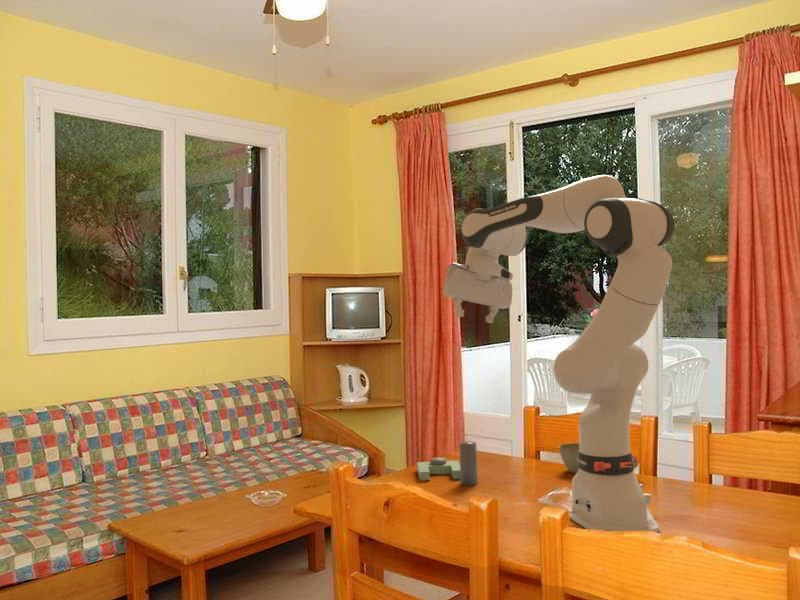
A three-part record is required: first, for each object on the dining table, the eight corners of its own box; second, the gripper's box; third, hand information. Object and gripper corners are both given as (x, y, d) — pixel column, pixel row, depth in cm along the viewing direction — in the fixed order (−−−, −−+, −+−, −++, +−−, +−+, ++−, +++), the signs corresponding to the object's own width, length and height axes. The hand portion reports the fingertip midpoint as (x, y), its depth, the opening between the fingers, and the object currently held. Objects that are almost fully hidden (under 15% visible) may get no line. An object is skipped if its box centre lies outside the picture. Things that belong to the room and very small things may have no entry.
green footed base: (463, 478, 200) (462, 466, 200) (420, 480, 199) (419, 467, 199) (457, 468, 212) (457, 456, 212) (417, 470, 211) (416, 458, 211)
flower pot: (592, 466, 208) (592, 442, 208) (598, 475, 198) (598, 449, 198) (557, 467, 209) (557, 442, 209) (562, 475, 199) (561, 450, 199)
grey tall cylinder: (478, 485, 192) (477, 444, 192) (462, 486, 192) (460, 444, 192) (476, 481, 197) (474, 440, 197) (459, 481, 197) (458, 441, 197)
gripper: (454, 259, 188) (447, 312, 186) (517, 275, 197) (511, 325, 195) (442, 262, 194) (435, 313, 192) (504, 277, 202) (498, 325, 201)
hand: (474, 319), depth 193 cm, fingers open, 8 cm apart
